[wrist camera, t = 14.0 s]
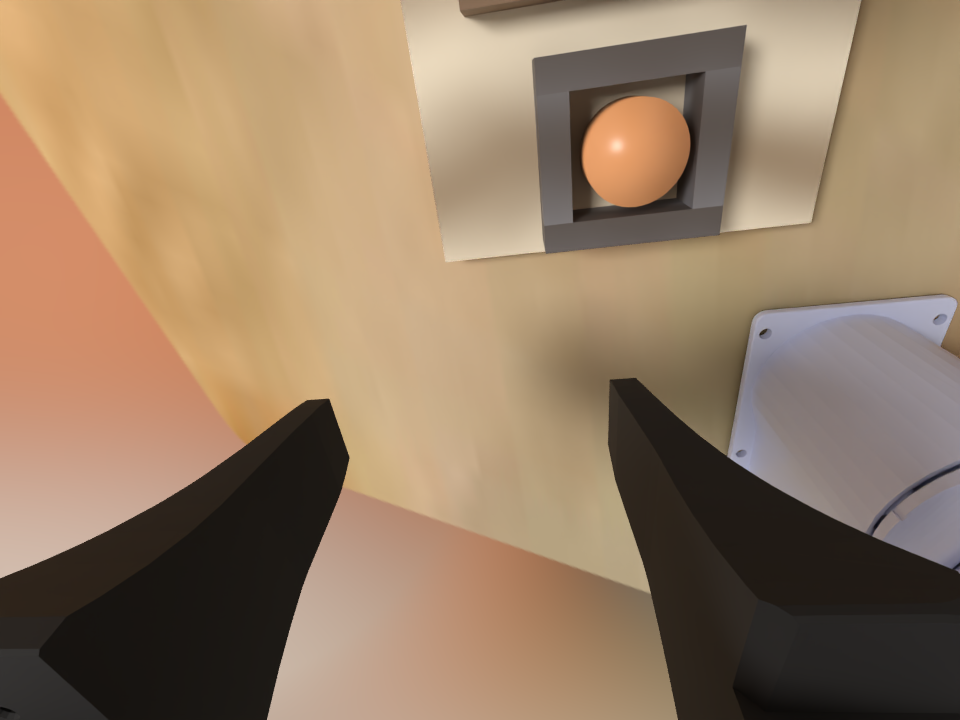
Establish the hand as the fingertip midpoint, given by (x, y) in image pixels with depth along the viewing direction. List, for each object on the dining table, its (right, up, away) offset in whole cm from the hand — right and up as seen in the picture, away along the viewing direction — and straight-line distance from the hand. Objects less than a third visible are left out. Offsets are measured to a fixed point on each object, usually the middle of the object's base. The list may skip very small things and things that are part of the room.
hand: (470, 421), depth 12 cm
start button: (+5, +9, +4) cm, 11 cm away
